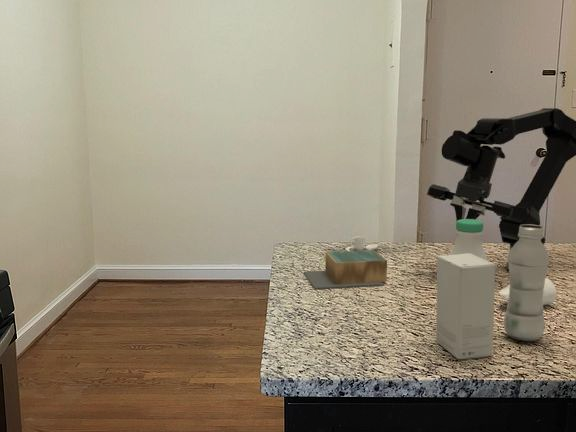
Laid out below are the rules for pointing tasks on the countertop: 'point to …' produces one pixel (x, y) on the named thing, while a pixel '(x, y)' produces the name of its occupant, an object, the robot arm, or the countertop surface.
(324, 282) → the mat
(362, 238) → the teacup and saucer
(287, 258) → the countertop surface
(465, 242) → the milk bottle
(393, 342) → the countertop surface
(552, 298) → the roll
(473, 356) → the skincare box
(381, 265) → the tan and teal block
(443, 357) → the countertop surface
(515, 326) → the plastic bottle
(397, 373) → the countertop surface
